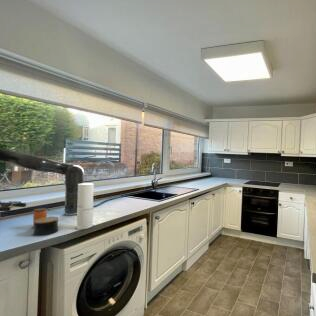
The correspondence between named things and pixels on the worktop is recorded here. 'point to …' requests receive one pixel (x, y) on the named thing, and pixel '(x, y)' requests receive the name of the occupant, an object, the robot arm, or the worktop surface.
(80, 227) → the cylindrical container
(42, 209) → the orange tin
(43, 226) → the black canister
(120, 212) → the worktop surface
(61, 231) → the worktop surface
